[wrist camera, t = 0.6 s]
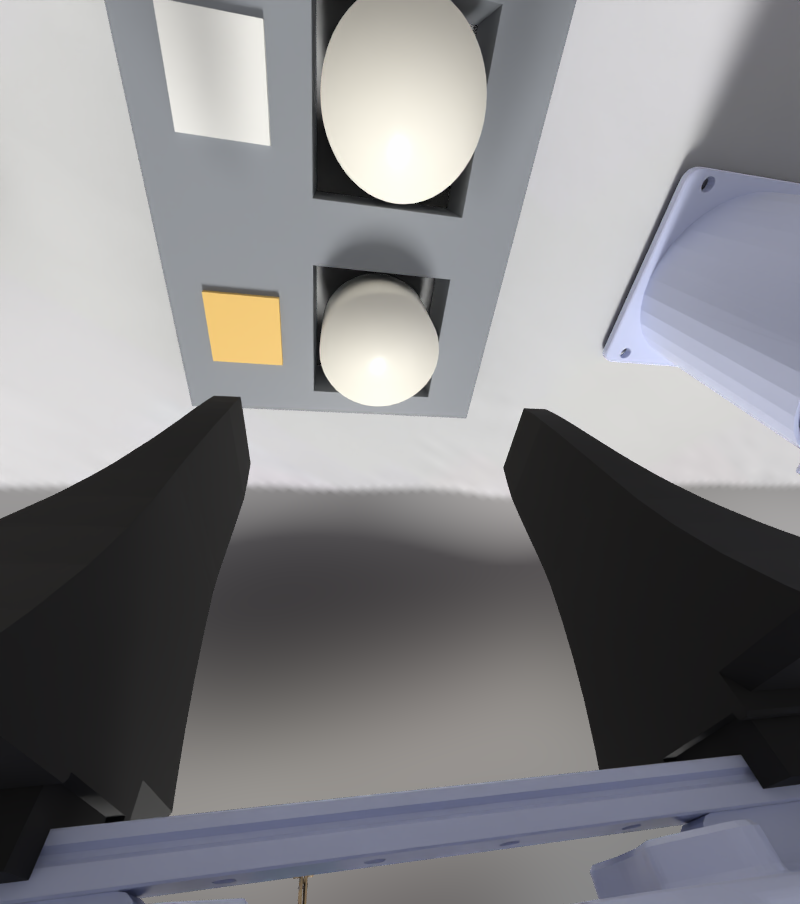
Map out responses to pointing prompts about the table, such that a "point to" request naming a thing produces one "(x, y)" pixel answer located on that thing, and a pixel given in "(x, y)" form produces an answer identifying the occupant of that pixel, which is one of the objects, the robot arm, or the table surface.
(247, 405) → the button board
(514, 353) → the table surface
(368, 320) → the button end
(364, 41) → the button middle
